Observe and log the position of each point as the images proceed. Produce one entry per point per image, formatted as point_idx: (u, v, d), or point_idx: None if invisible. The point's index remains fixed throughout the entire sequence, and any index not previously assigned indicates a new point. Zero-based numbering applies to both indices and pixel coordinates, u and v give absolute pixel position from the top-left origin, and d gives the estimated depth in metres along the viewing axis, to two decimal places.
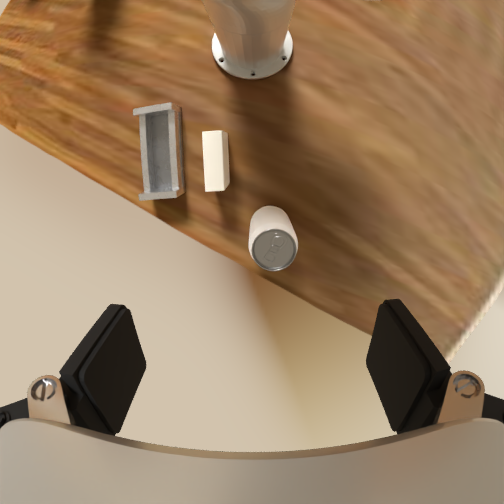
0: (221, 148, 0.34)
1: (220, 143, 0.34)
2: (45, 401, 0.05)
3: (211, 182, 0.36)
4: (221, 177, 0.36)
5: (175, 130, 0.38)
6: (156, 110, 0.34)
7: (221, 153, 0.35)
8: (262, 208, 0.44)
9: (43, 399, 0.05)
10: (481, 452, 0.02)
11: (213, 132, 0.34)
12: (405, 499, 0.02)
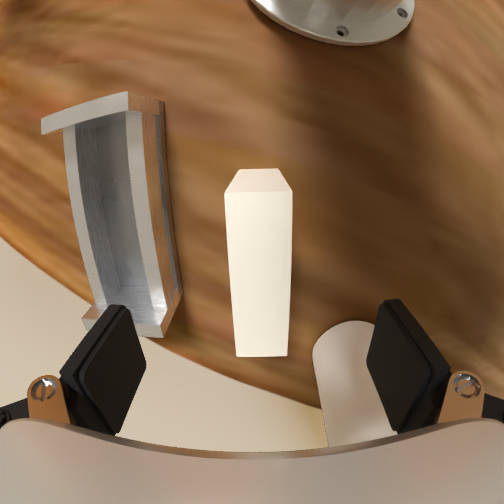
0: (288, 251, 0.11)
1: (286, 235, 0.11)
2: (45, 401, 0.05)
3: (253, 339, 0.13)
4: (283, 329, 0.13)
5: (146, 166, 0.14)
6: (90, 116, 0.11)
7: (287, 266, 0.11)
8: (342, 331, 0.21)
9: (43, 399, 0.05)
10: (481, 452, 0.02)
11: (263, 197, 0.10)
12: (405, 499, 0.02)
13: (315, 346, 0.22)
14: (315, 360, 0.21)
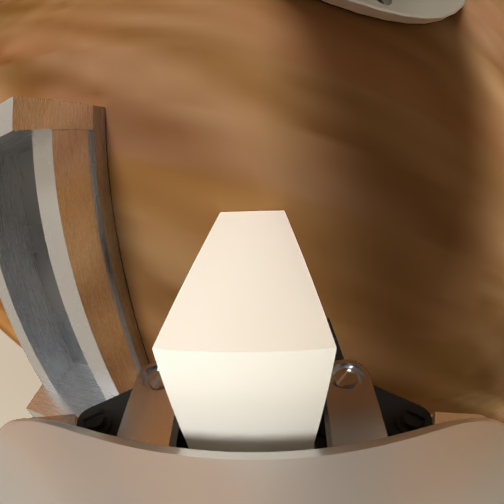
0: (309, 435, 0.04)
1: (309, 421, 0.04)
2: (154, 390, 0.06)
3: None
4: None
5: (65, 219, 0.08)
6: None
7: None
8: None
9: (153, 386, 0.06)
10: (481, 452, 0.02)
11: (258, 362, 0.04)
12: (405, 499, 0.02)
13: None
14: None
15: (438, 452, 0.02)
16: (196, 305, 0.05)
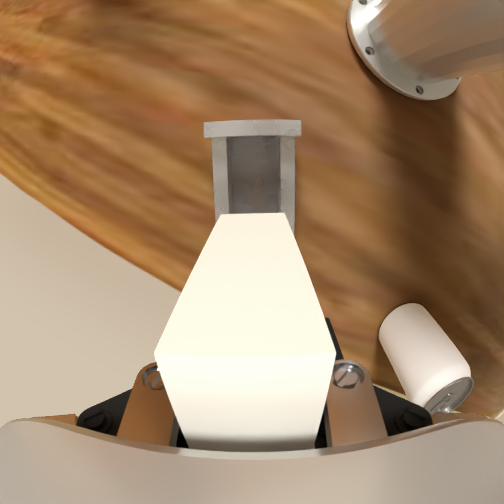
0: (309, 437, 0.04)
1: (308, 423, 0.04)
2: (154, 390, 0.06)
3: None
4: None
5: None
6: (264, 133, 0.16)
7: None
8: (404, 310, 0.26)
9: (153, 386, 0.06)
10: (481, 452, 0.02)
11: (258, 366, 0.04)
12: (405, 499, 0.02)
13: (383, 324, 0.27)
14: (385, 335, 0.26)
15: (438, 452, 0.02)
16: (197, 309, 0.05)
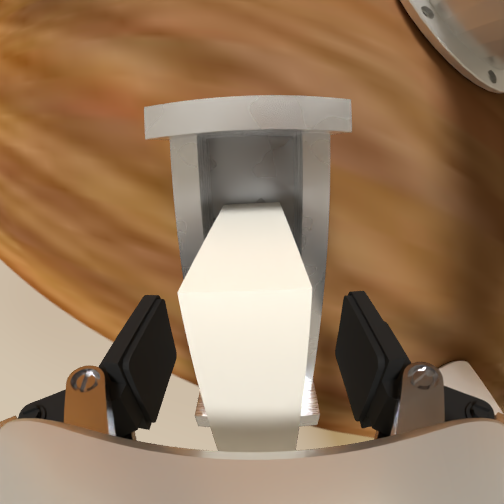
0: (300, 376, 0.06)
1: (298, 358, 0.06)
2: (84, 392, 0.05)
3: None
4: None
5: None
6: (272, 124, 0.07)
7: (298, 395, 0.06)
8: (449, 374, 0.16)
9: (83, 390, 0.06)
10: (481, 452, 0.02)
11: (255, 299, 0.05)
12: (405, 499, 0.02)
13: None
14: None
15: (438, 452, 0.02)
16: (208, 266, 0.06)
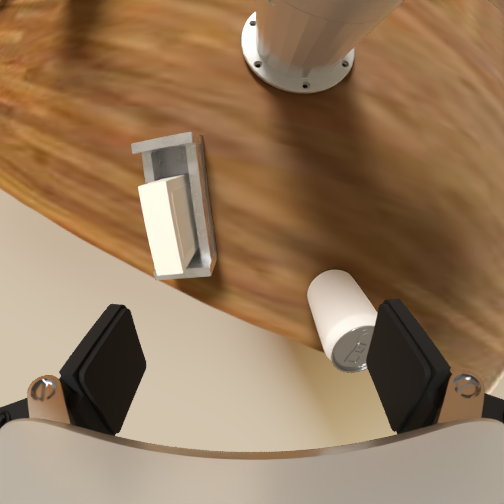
0: (169, 210, 0.22)
1: (166, 202, 0.22)
2: (45, 401, 0.05)
3: (163, 262, 0.24)
4: (176, 255, 0.23)
5: (199, 173, 0.27)
6: (168, 145, 0.24)
7: (170, 218, 0.22)
8: (325, 275, 0.32)
9: (43, 399, 0.05)
10: (481, 452, 0.02)
11: (154, 185, 0.21)
12: (405, 499, 0.02)
13: (308, 290, 0.34)
14: (309, 298, 0.33)
15: (438, 452, 0.02)
16: (147, 184, 0.22)
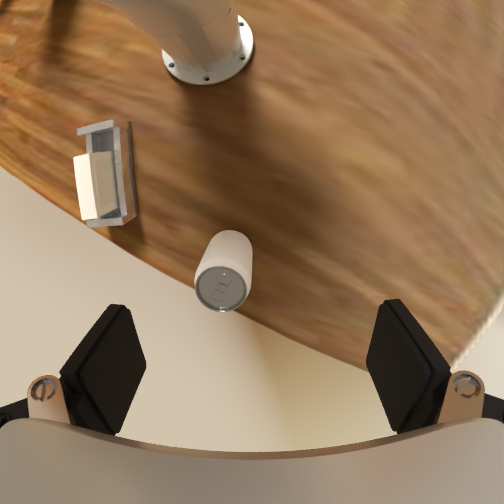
0: (90, 172, 0.28)
1: (89, 167, 0.28)
2: (45, 401, 0.05)
3: (85, 210, 0.30)
4: (93, 204, 0.30)
5: (121, 149, 0.33)
6: (99, 129, 0.29)
7: (90, 178, 0.28)
8: (219, 233, 0.39)
9: (43, 399, 0.05)
10: (481, 452, 0.02)
11: (82, 156, 0.27)
12: (405, 499, 0.02)
13: None
14: None
15: (438, 452, 0.02)
16: None
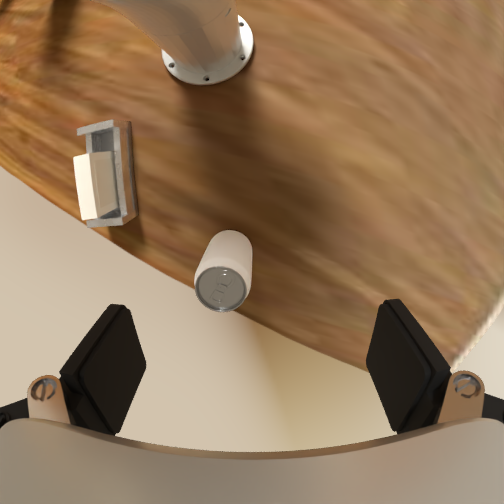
0: (90, 172, 0.28)
1: (88, 167, 0.28)
2: (45, 401, 0.05)
3: (85, 210, 0.30)
4: (93, 204, 0.30)
5: (121, 149, 0.33)
6: (99, 129, 0.29)
7: (90, 178, 0.28)
8: (219, 233, 0.39)
9: (43, 399, 0.05)
10: (481, 452, 0.02)
11: (82, 156, 0.27)
12: (405, 499, 0.02)
13: None
14: None
15: (438, 452, 0.02)
16: None
